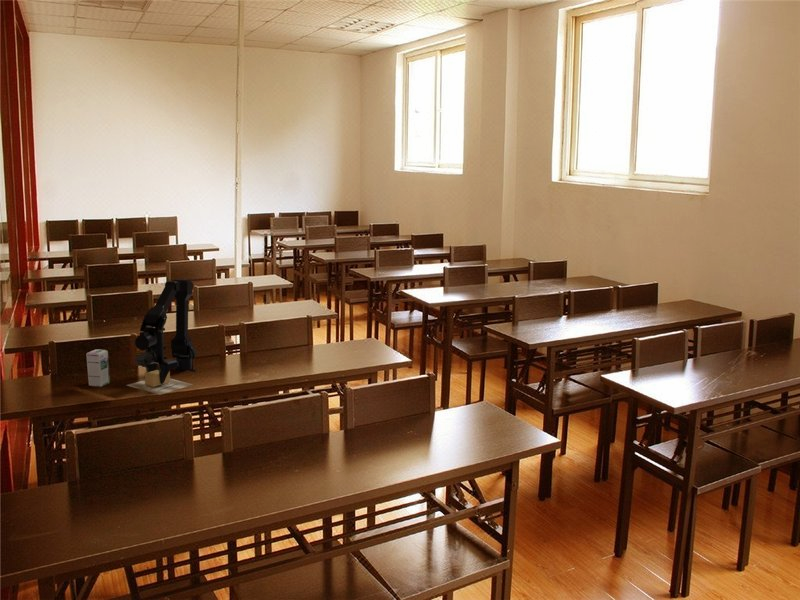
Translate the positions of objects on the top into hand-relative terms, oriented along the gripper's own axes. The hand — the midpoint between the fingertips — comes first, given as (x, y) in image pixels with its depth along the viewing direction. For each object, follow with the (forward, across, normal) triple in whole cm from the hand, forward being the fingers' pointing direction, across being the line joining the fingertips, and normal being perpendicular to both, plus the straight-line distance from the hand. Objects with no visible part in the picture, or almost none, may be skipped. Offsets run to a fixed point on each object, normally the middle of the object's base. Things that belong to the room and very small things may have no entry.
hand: (157, 382), depth 282 cm
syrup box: (+2, -19, -13) cm, 23 cm away
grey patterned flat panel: (+2, +1, 0) cm, 2 cm away
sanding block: (+1, 0, 0) cm, 1 cm away
